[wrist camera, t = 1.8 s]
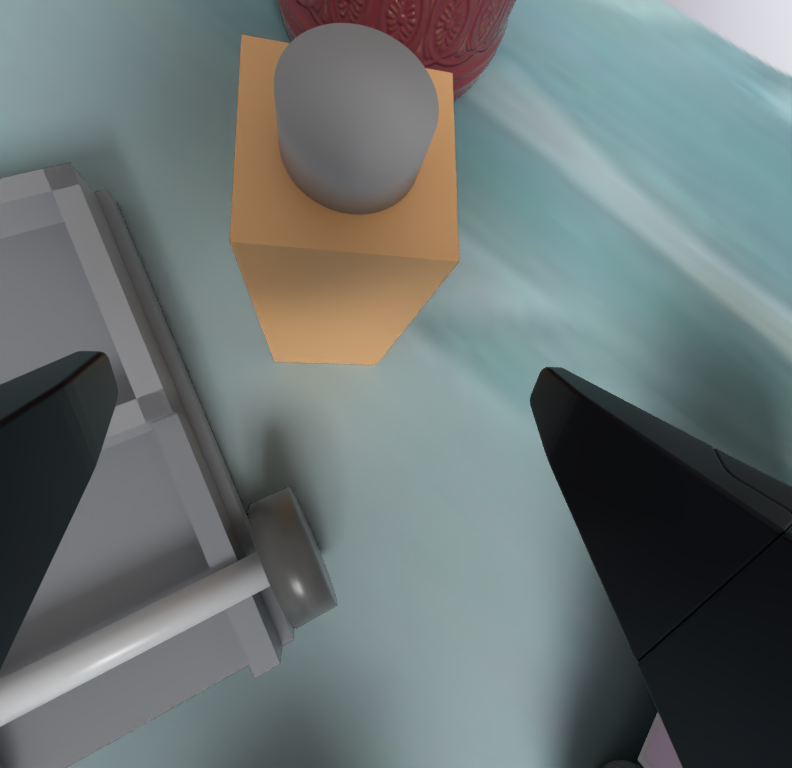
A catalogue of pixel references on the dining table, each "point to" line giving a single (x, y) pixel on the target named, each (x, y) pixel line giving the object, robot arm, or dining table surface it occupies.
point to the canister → (418, 28)
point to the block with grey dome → (341, 190)
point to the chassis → (132, 502)
